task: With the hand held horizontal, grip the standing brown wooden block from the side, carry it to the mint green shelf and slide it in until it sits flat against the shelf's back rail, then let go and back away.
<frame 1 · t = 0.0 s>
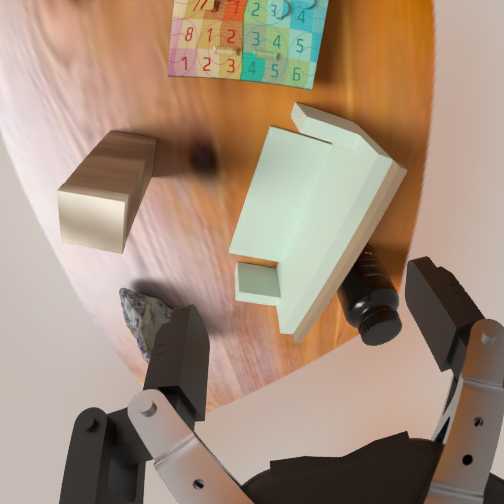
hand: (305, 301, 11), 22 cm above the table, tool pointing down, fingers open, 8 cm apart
mineral rock: (163, 307, 45), on the table
supplement bottle: (352, 260, 42), on the table
brown wooden block: (131, 154, 30), on the table
mint green shelf: (275, 200, 35), on the table
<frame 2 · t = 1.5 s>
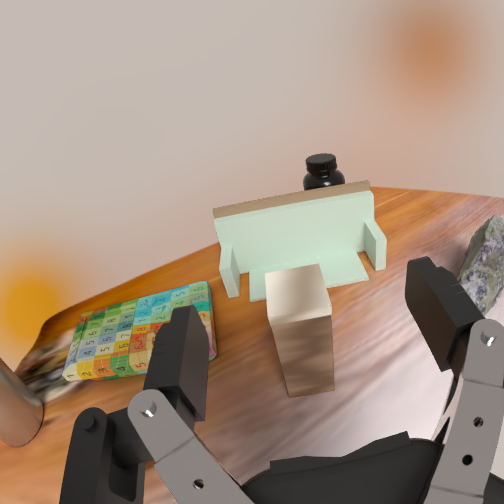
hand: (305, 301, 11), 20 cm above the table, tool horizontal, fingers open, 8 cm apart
mineral rock: (470, 292, 34), on the table
supplement bottle: (329, 224, 55), on the table
puzzle game: (147, 349, 39), on the table
brown wooden block: (308, 374, 31), on the table
mint green shelf: (306, 276, 44), on the table
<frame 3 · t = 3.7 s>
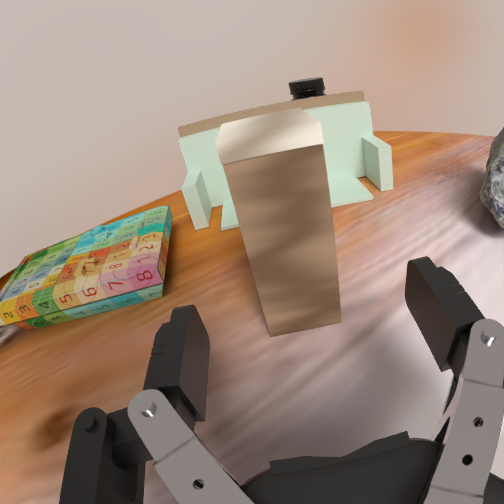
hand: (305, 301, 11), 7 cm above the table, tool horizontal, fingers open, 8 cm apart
mineral rock: (500, 209, 25), on the table
supplement bottle: (320, 159, 45), on the table
puzzle game: (89, 292, 30), on the table
brown wooden block: (300, 303, 22), on the table
mint green shelf: (294, 201, 35), on the table
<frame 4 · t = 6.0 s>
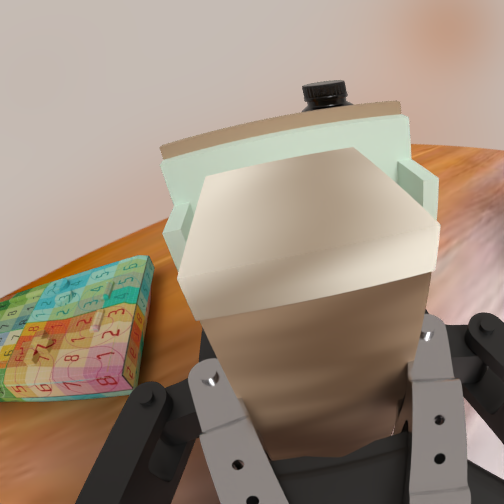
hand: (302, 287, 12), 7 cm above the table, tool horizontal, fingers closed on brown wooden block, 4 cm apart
supplement bottle: (339, 181, 37), on the table
puzzle game: (56, 361, 22), on the table
brown wooden block: (324, 428, 14), on the table, touching gripper
mint green shelf: (311, 246, 27), on the table
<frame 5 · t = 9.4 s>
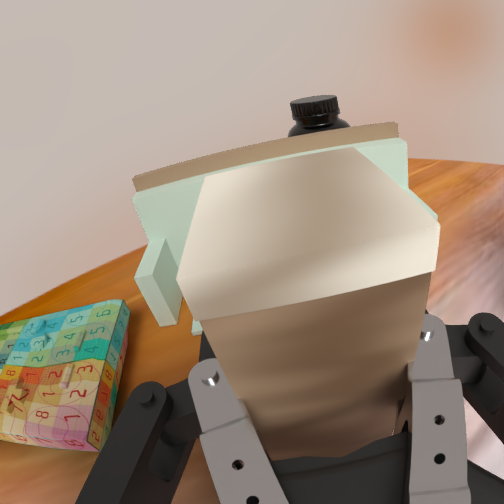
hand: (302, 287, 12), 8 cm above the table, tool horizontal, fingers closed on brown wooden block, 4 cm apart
supplement bottle: (330, 205, 36), on the table
puzzle game: (37, 398, 20), on the table
brown wooden block: (325, 428, 14), point 1 cm above the table, touching gripper
mint green shelf: (295, 287, 25), on the table
when the fingers open (8 cm above the table, at t = 12.6 s): brown wooden block stays where it is, resting on mint green shelf.
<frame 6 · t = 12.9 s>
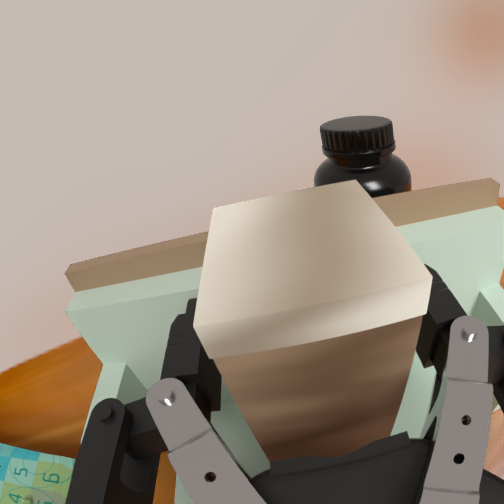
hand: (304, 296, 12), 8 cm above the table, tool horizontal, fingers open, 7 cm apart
supplement bottle: (367, 273, 25), on the table
brown wooden block: (324, 437, 14), resting on mint green shelf
mint green shelf: (325, 439, 14), on the table
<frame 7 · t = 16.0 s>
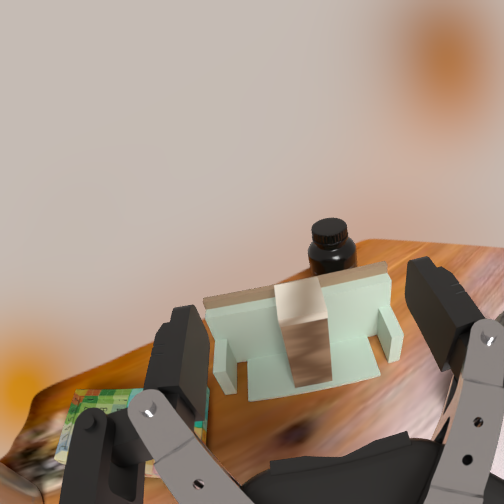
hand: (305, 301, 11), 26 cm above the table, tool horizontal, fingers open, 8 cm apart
supplement bottle: (336, 294, 48), on the table
puzzle game: (139, 441, 33), on the table
brown wooden block: (311, 368, 37), resting on mint green shelf
mint green shelf: (311, 369, 38), on the table
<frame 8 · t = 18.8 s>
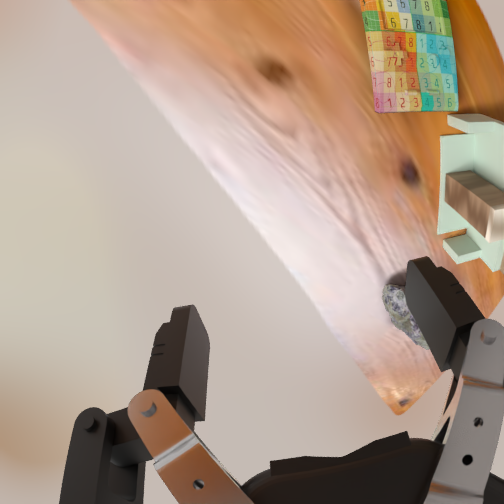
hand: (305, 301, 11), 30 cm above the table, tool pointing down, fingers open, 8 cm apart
mineral rock: (405, 296, 52), on the table
puzzle game: (399, 34, 30), on the table
brown wooden block: (457, 185, 40), resting on mint green shelf
mint green shelf: (456, 184, 41), on the table
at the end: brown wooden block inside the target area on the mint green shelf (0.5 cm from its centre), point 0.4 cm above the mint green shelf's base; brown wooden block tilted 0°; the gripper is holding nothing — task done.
